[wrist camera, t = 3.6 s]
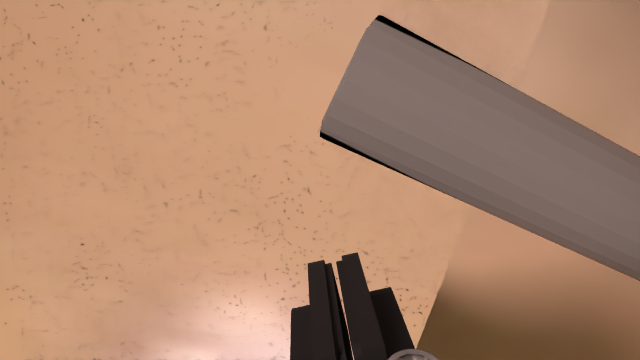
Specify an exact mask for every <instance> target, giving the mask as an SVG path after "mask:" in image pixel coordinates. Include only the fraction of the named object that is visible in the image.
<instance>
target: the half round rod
mask: <svg viewBox="0 0 640 360" xmlns="http://www.w3.org/2000/svg"><path fill="white" fill-rule="evenodd" d="M320 137H321V138H323V139H325V140H327V141H329V142H332V143H334V144H336V145H338V146H341V147H343V148H345V149H347V150H350V151H352V152H354V153H356V154H358V155H361V156H363V157H365V158H367V159H370V160H372V161H374V162H376V163H378V164H381V165H383V166H385V167H387V168H390V169H392V170H394V171H396V172H399V173H401V174H403V175H405V176H407V177H410V178H412V179H414V180H416V181H419V182H421V183H423V184H425V185H428V186H430V187H432V188H434V189H436V190H439V191H441V192H443V193H445V194H448V195H450V196H452V197H454V198H456V199H459V200H461V201H463V202H465V203H468V204H470V205H472V206H474V207H477V208H479V209H481V210H483V211H485V212H488V213H490V214H492V215H494V216H497V217H499V218H501V219H503V220H505V221H508V222H510V223H512V224H514V225H517V226H519V227H521V228H523V229H526V230H528V231H530V232H532V233H534V234H537V235H539V236H541V237H543V238H546V239H548V240H550V241H552V242H554V243H557V244H559V245H561V246H563V247H566V248H568V249H570V250H572V251H575V252H577V253H579V254H581V255H583V256H586V257H588V258H590V259H592V260H595V261H597V262H599V263H601V264H603V265H606V266H608V267H610V268H612V269H615V270H617V271H619V272H621V273H624V274H626V275H628V276H630V277H632V278H635V279H637V280H639V281H640V156H638V155H636V154H634V153H632V152H631V151H629V150H627V149H625V148H623V147H621V146H620V145H618V144H616V143H614V142H612V141H611V140H609V139H607V138H605V137H603V136H601V135H600V134H598V133H596V132H594V131H592V130H590V129H589V128H587V127H585V126H583V125H581V124H579V123H578V122H576V121H574V120H572V119H570V118H568V117H567V116H565V115H563V114H561V113H559V112H557V111H556V110H554V109H552V108H550V107H548V106H547V105H545V104H543V103H541V102H539V101H537V100H536V99H534V98H532V97H530V96H528V95H526V94H525V93H523V92H521V91H519V90H517V89H515V88H514V87H512V86H510V85H508V84H506V83H504V82H503V81H501V80H499V79H497V78H495V77H493V76H492V75H490V74H488V73H486V72H484V71H483V70H481V69H479V68H477V67H475V66H473V65H472V64H470V63H468V62H466V61H464V60H462V59H461V58H459V57H457V56H455V55H453V54H451V53H450V52H448V51H446V50H444V49H442V48H440V47H439V46H437V45H435V44H433V43H431V42H429V41H428V40H426V39H424V38H422V37H420V36H418V35H417V34H415V33H413V32H411V31H409V30H408V29H406V28H404V27H402V26H400V25H398V24H397V23H395V22H393V21H391V20H389V19H387V18H386V17H384V16H381V15H378V16H377V17H376V18H375V20H374V21H373V22H372V23H371V24H370V26H369V27H368V28H367V29H366V31H365V33H364V35H363V36H362V38H361V40H360V42H359V44H358V46H357V49H356V51H355V53H354V55H353V57H352V59H351V61H350V63H349V65H348V67H347V69H346V71H345V74H344V76H343V78H342V80H341V82H340V84H339V86H338V88H337V90H336V92H335V94H334V97H333V99H332V101H331V103H330V105H329V107H328V109H327V111H326V113H325V116H324V118H323V120H322V126H321V130H320Z"/></svg>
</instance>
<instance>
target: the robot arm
mask: <svg viewBox="0 0 640 360" xmlns="http://www.w3.org/2000/svg"><path fill="white" fill-rule="evenodd" d="M336 264H337V269H338V275H339V280H340V286H341V291H342V297H343V302H344V308H345V313H346V319H347V324H348V330H349V334H348V330H347V325H346V321H345V317H344V313H343V309H342V305H341V301H340V297H339V292H338V288H337V284H336V280H335V276H334V272H333V268H332V264H331V263H328V264H325V262H324V260H321V261H317V262H312V263H308V280H309V301H310V305H307V306H302V307H298V308H293V309H292V311H291V347H290V360H353V356H352V351H353V355H354V360H438V359H437V358H436V357H435V356H433V355H432V354H430V353H428V352H426V351H423V350H419V349H415V348H414V345H413V342H412V340H411V337H410V335H409V332H408V330H407V327H406V324H405V322H404V319H403V317H402V314H401V312H400V309H399V306H398V304H397V301H396V299H395V296H394V294H393V291H392V289H391V287H388V288H384V289H379V290H375V291H370V292H369V290H368V286H367V283H366V280H365V276H364V273H363V269H362V266H361V263H360V259H359V256H358V253H353V254H348V255H344V256H342V261H337V262H336ZM349 335H350V339H349ZM350 341H351V345H350ZM351 346H352V351H351Z"/></svg>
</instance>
